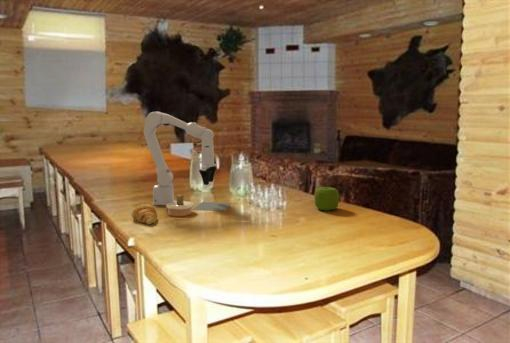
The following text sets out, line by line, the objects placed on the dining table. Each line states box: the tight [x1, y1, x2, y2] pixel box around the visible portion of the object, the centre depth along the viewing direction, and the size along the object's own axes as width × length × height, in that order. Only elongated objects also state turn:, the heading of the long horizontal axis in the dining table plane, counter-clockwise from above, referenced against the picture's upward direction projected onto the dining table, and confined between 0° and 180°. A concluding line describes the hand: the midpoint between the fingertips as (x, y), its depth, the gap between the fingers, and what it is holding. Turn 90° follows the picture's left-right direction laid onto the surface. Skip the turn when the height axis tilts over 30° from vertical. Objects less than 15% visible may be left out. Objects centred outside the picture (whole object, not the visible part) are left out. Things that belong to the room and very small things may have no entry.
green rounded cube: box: [314, 185, 340, 212], centre depth 202 cm, size 11×11×11 cm
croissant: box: [131, 202, 158, 225], centre depth 187 cm, size 21×10×8 cm, turn 29°
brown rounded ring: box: [167, 207, 193, 217], centre depth 195 cm, size 10×10×4 cm
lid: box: [165, 194, 195, 210], centre depth 194 cm, size 12×12×5 cm
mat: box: [192, 201, 233, 212], centre depth 207 cm, size 15×15×1 cm
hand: (208, 183), depth 213 cm, fingers open, 7 cm apart
